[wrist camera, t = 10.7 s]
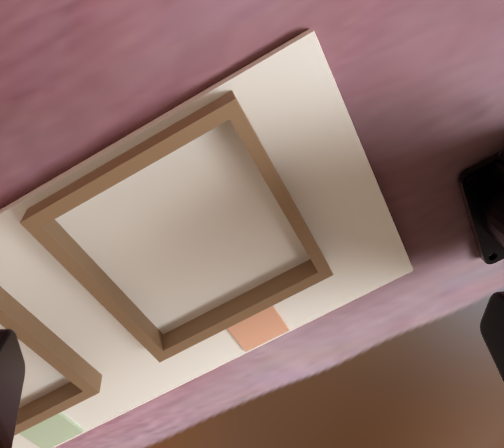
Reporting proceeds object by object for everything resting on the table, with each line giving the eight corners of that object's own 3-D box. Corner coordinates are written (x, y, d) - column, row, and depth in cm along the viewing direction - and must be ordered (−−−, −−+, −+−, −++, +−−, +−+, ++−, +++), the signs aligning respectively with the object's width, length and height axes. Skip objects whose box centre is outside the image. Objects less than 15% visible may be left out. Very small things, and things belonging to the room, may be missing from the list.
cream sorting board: (408, 264, 26) (424, 284, 24) (-21, 476, 30) (-31, 505, 28) (310, 28, 18) (322, 36, 17) (-243, 351, 22) (-273, 380, 21)
